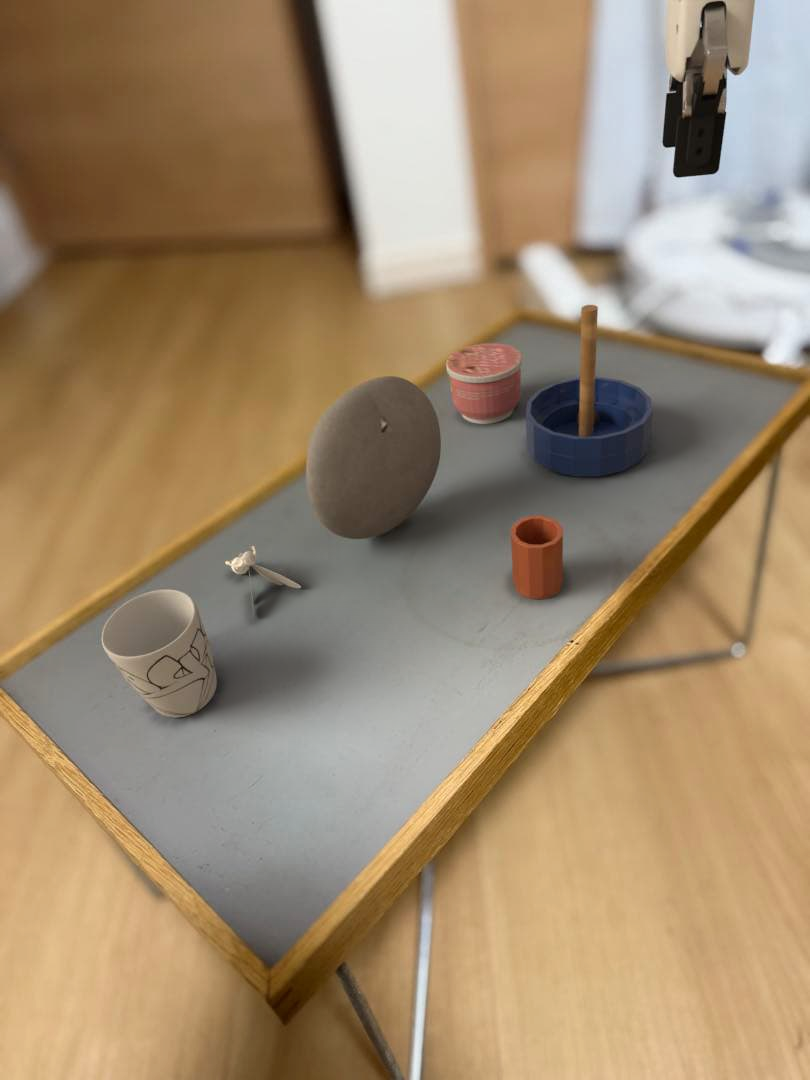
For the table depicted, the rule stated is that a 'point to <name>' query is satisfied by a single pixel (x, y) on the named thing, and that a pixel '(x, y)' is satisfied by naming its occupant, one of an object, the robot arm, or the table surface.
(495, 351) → the container
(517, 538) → the holder
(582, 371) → the stick
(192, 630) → the mug
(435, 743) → the table surface
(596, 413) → the bead
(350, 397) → the grey-brown thick disc
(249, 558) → the fairy figurine
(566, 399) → the bowl
